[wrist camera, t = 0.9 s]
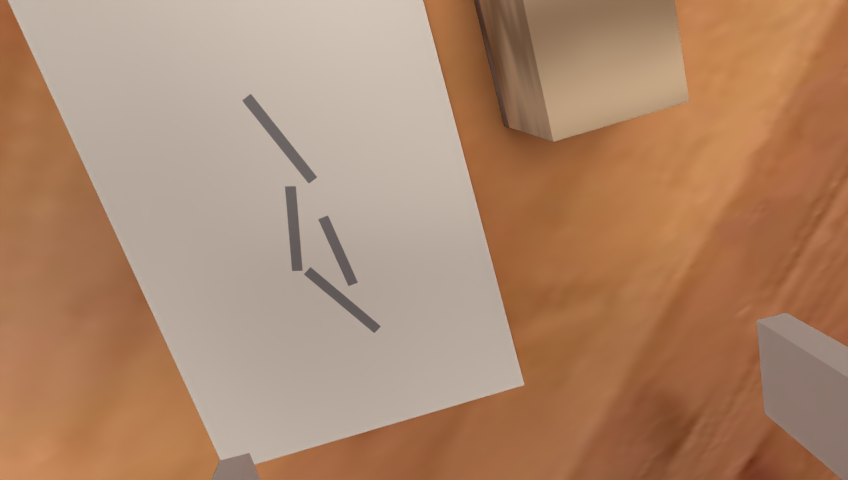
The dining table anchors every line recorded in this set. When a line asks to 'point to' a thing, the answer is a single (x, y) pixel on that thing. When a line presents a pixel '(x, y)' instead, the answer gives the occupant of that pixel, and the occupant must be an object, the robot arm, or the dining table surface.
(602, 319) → the dining table surface
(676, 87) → the block
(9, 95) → the dining table surface
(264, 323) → the board
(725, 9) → the dining table surface
